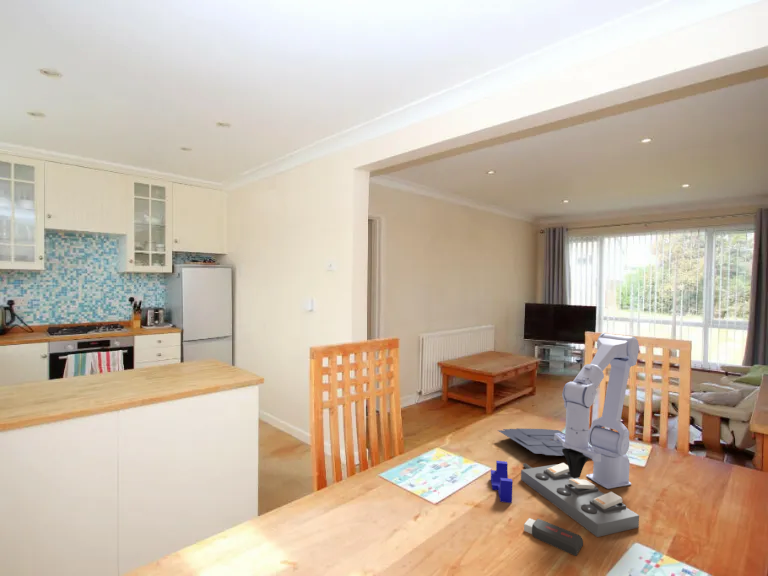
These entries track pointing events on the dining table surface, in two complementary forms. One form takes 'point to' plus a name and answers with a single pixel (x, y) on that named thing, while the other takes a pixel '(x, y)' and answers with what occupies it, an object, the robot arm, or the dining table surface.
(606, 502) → the rocker
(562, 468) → the rocker
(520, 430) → the grey ridged plate
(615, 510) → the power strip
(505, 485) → the blue pipe cradle
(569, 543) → the usb drive
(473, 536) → the dining table surface
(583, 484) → the rocker middle
